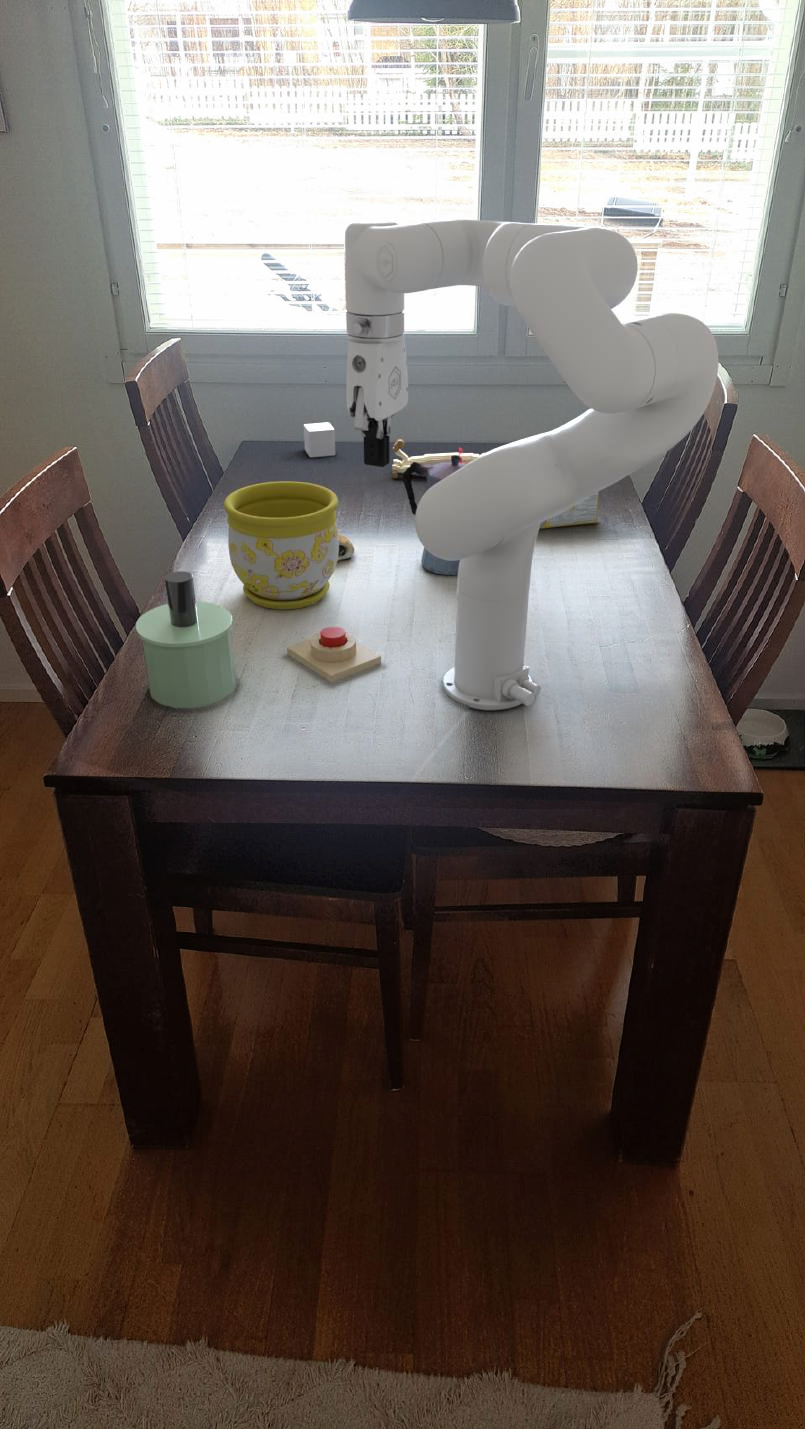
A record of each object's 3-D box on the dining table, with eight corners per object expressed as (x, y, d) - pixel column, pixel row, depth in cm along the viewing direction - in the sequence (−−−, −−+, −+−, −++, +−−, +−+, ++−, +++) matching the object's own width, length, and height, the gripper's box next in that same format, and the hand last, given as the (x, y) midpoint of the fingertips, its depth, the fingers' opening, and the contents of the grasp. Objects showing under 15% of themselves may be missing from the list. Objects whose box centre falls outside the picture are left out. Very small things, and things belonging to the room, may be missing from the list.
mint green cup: (251, 679, 143) (246, 616, 138) (203, 719, 134) (196, 652, 129) (183, 662, 148) (175, 600, 142) (132, 699, 138) (122, 634, 133)
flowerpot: (286, 563, 179) (281, 473, 170) (363, 591, 169) (361, 496, 160) (209, 596, 167) (199, 501, 158) (287, 628, 157) (280, 528, 148)
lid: (251, 619, 138) (246, 567, 134) (196, 659, 129) (190, 604, 125) (174, 602, 143) (168, 551, 139) (116, 639, 133) (107, 586, 129)
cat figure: (392, 487, 217) (509, 481, 215) (389, 447, 213) (508, 440, 210) (396, 473, 226) (508, 466, 223) (392, 434, 221) (507, 427, 218)
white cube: (329, 448, 238) (329, 422, 234) (335, 455, 233) (334, 429, 230) (304, 449, 236) (303, 424, 233) (309, 457, 231) (308, 431, 228)
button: (350, 643, 146) (350, 633, 145) (330, 651, 144) (330, 640, 143) (335, 635, 148) (335, 624, 147) (315, 642, 146) (315, 631, 145)
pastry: (306, 546, 186) (305, 526, 184) (341, 541, 188) (340, 521, 186) (322, 564, 178) (322, 544, 176) (358, 559, 181) (358, 539, 179)
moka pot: (483, 580, 173) (489, 466, 162) (396, 573, 175) (395, 460, 165) (490, 559, 181) (496, 449, 170) (406, 552, 183) (407, 443, 173)
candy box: (592, 520, 198) (597, 478, 193) (597, 523, 196) (601, 482, 192) (514, 527, 194) (517, 485, 190) (518, 531, 192) (521, 489, 188)
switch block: (381, 666, 147) (381, 645, 145) (331, 686, 142) (330, 664, 140) (336, 639, 154) (335, 619, 152) (287, 657, 149) (285, 636, 147)
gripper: (375, 339, 124) (377, 484, 133) (425, 318, 135) (423, 453, 145) (321, 333, 126) (327, 476, 136) (375, 313, 138) (376, 446, 148)
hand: (376, 464), depth 140 cm, fingers closed
